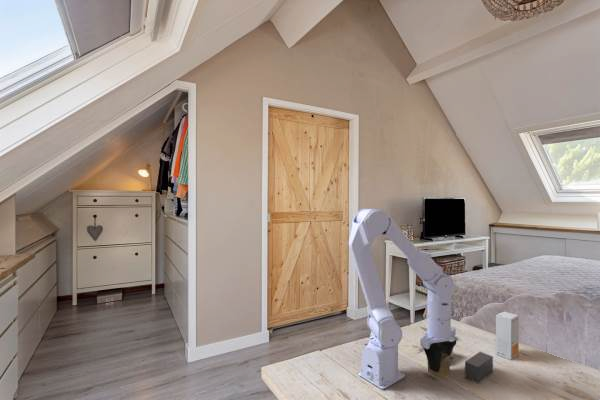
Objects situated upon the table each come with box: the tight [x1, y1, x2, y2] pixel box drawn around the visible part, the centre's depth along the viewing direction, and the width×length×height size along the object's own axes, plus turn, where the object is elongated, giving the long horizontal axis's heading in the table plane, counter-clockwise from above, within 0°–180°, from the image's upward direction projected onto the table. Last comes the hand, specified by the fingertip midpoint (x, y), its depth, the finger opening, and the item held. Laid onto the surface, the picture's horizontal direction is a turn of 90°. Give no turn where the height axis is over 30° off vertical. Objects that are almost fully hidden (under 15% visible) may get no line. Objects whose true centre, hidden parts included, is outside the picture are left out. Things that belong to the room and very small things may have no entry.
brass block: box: [427, 353, 451, 380], centre depth 81 cm, size 4×4×5 cm
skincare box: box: [495, 311, 520, 360], centre depth 91 cm, size 6×4×12 cm
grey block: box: [464, 351, 494, 384], centre depth 80 cm, size 9×3×4 cm, turn 127°
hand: (438, 367), depth 81 cm, fingers closed on brass block, 4 cm apart
